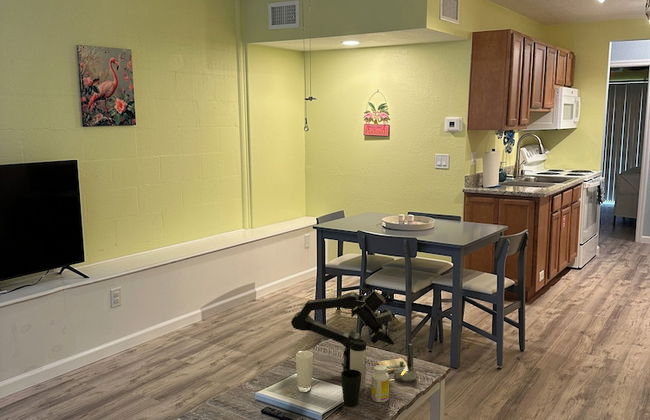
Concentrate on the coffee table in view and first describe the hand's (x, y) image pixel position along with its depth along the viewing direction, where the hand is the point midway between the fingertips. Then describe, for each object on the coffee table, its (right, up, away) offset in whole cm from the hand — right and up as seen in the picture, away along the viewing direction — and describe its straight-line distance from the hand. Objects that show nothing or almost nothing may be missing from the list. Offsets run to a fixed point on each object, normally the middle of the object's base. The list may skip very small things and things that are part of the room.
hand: (393, 344), depth 251 cm
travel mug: (-16, -14, -14) cm, 26 cm away
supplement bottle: (-8, -16, -23) cm, 29 cm away
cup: (-19, -17, -26) cm, 37 cm away
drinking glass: (-37, -15, -16) cm, 43 cm away
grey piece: (+5, -12, -4) cm, 14 cm away
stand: (+1, -11, +5) cm, 12 cm away
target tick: (-2, -13, -7) cm, 15 cm away
